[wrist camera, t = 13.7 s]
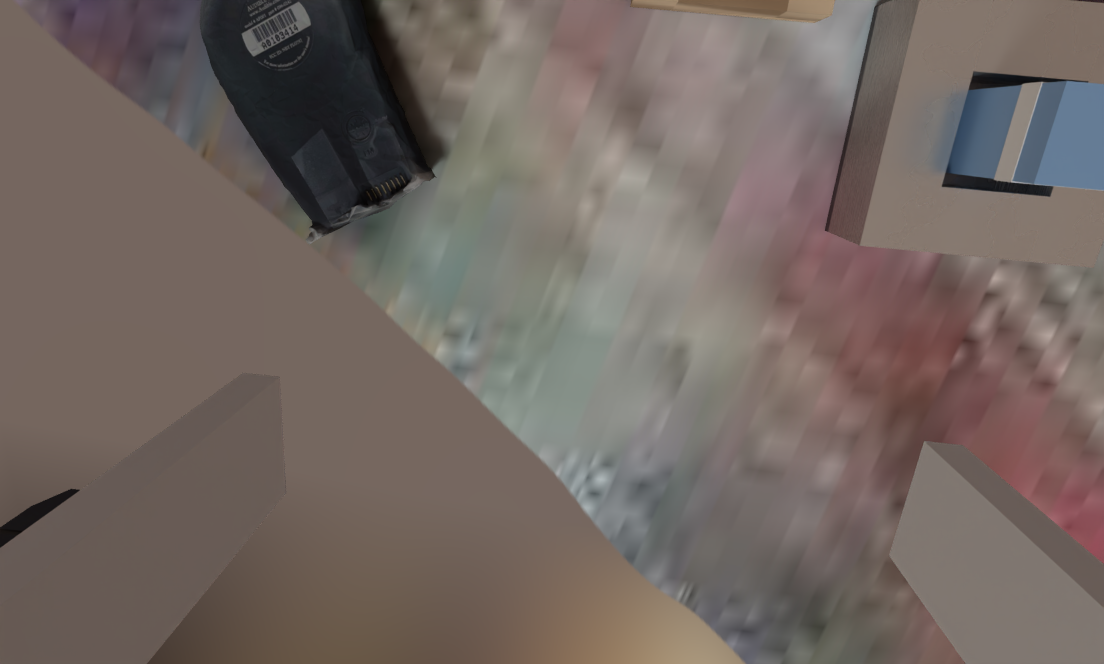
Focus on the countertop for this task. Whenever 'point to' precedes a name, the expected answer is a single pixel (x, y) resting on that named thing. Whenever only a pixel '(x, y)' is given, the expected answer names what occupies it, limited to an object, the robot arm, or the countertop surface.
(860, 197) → the port block
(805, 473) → the countertop surface
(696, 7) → the tan flat square frame
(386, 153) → the electronic device
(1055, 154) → the plug
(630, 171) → the countertop surface
